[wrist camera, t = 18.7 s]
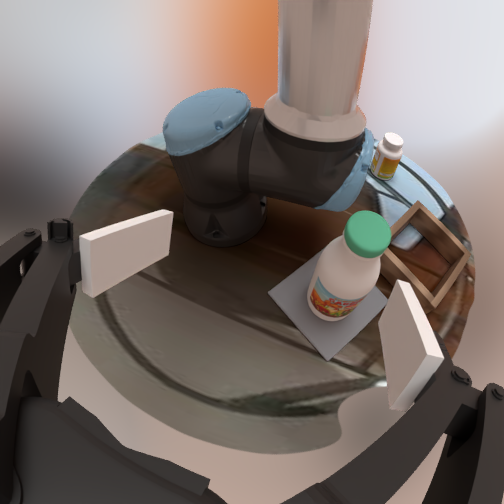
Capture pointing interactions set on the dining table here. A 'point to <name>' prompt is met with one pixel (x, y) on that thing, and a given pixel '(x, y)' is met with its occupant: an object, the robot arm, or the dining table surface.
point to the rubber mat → (314, 328)
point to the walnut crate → (440, 240)
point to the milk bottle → (349, 267)
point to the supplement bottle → (387, 156)
